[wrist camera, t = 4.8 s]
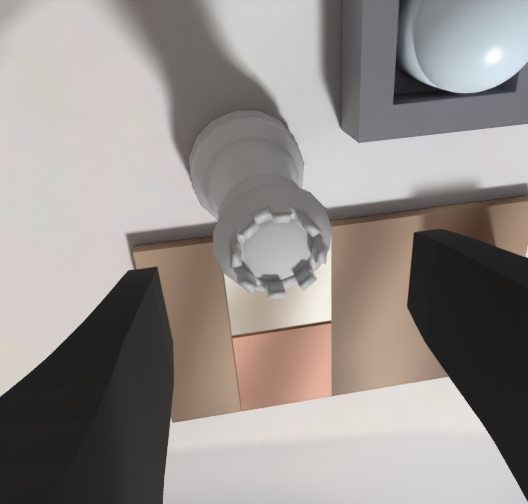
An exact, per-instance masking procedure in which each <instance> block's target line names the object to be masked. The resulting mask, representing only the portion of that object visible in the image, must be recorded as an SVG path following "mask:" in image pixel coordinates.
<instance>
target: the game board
mask: <svg viewBox="0 0 528 504" xmlns="http://www.w3.org/2000/svg"><path fill="white" fill-rule="evenodd" d="M330 224H331V227H332V232H331V240H330V249H329V251H328V253H327V260H326V264H321V265H320V267H319V268H318V269H317V270H316V271H315V272H314V274H315V276H316V278H317V280H316V281H315V282H314V283H313V284H312V285H310V286H309V287H308V288H307V289H306V290H305V291H303V290H302V289H301V287H300V286H299V285H298V284H297V285H294V286H292V287H289V288H287V289H285V295H286V298H283V299H268V298H267V295H266V291H263V292H259V291H256V290H254V291H253V292H252V293H251V294H250V293H249V292H248V291H246V290H245V289H244V288H243V287H242V286H239V285H238V284H237V283H235V282H234V281H233V280H232V279H231V278H229V277H228V276H227V275H226V274H224V273H223V272H222V270H221V268H220V266H219V264H218V262H217V260H216V258H215V256H214V254H213V236H209V237H202V238H194V239H186V240H178V241H171V242H163V243H155V244H147V245H140V246H134V248H133V257H134V261H135V265H136V269H143V268H150V267H158V272H159V277H160V281H161V286H162V291H163V296H164V300H165V305H166V310H167V315H168V320H169V324H170V329H171V334H172V339H173V353H174V389H173V399H172V409H171V418H172V422H173V423H174V422H180V421H186V420H192V419H198V418H204V417H210V416H216V415H222V414H228V413H234V412H240V411H247V410H253V409H259V408H264V407H270V406H276V405H282V404H288V403H294V402H300V401H306V400H312V399H318V398H324V397H330V396H336V395H342V394H348V393H353V392H359V391H365V390H371V389H377V388H383V387H389V386H395V385H401V384H407V383H413V382H419V381H425V380H431V379H437V378H443V377H449V376H448V375H447V373H446V372H445V370H444V369H443V368H442V366H441V365H440V363H439V362H438V361H437V359H436V358H435V356H434V355H433V353H432V352H431V351H430V349H429V348H428V346H427V345H426V343H425V342H424V340H423V338H422V336H421V334H420V332H419V330H418V328H417V327H416V325H415V322H414V320H413V318H412V316H411V314H410V312H409V310H408V308H407V300H408V289H409V279H410V268H411V257H412V246H413V236H414V232H418V231H426V230H433V229H444V230H448V231H452V232H455V233H458V234H462V235H465V236H468V237H471V238H473V239H476V240H479V241H482V242H485V243H487V244H490V245H493V246H496V247H499V248H501V249H504V250H507V251H510V252H512V253H515V254H518V255H521V256H524V257H525V254H526V250H527V246H528V195H527V196H519V197H511V198H503V199H496V200H488V201H480V202H472V203H465V204H457V205H449V206H441V207H434V208H426V209H418V210H410V211H403V212H395V213H387V214H379V215H372V216H364V217H356V218H349V219H341V220H333V221H330Z"/></svg>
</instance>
